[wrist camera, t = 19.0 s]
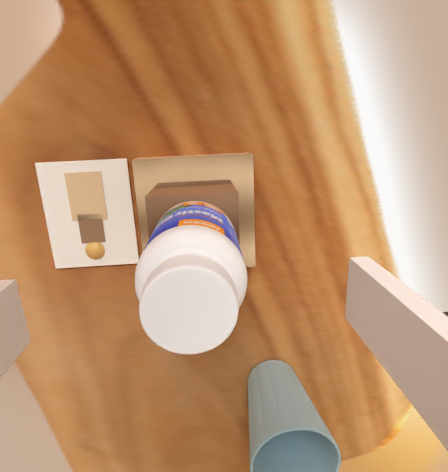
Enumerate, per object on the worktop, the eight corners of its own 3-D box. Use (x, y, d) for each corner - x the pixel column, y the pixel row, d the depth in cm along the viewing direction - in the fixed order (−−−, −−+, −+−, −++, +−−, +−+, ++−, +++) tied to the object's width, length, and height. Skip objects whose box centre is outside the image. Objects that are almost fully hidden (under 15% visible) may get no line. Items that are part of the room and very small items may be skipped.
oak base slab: (138, 157, 31) (131, 159, 28) (248, 152, 31) (253, 154, 28) (149, 261, 34) (145, 273, 31) (250, 255, 34) (255, 266, 31)
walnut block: (158, 182, 28) (144, 196, 22) (229, 179, 29) (238, 192, 22) (164, 250, 30) (153, 283, 23) (231, 247, 30) (240, 278, 24)
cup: (262, 419, 40) (282, 514, 30) (223, 376, 38) (231, 461, 28) (317, 384, 39) (357, 470, 29) (280, 338, 37) (309, 412, 27)
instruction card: (35, 162, 30) (34, 163, 30) (126, 158, 31) (126, 158, 30) (56, 267, 33) (55, 268, 33) (139, 262, 33) (139, 263, 33)
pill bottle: (223, 189, 22) (238, 228, 13) (244, 264, 23) (271, 349, 14) (142, 212, 22) (98, 268, 13) (168, 286, 24) (146, 384, 14)
